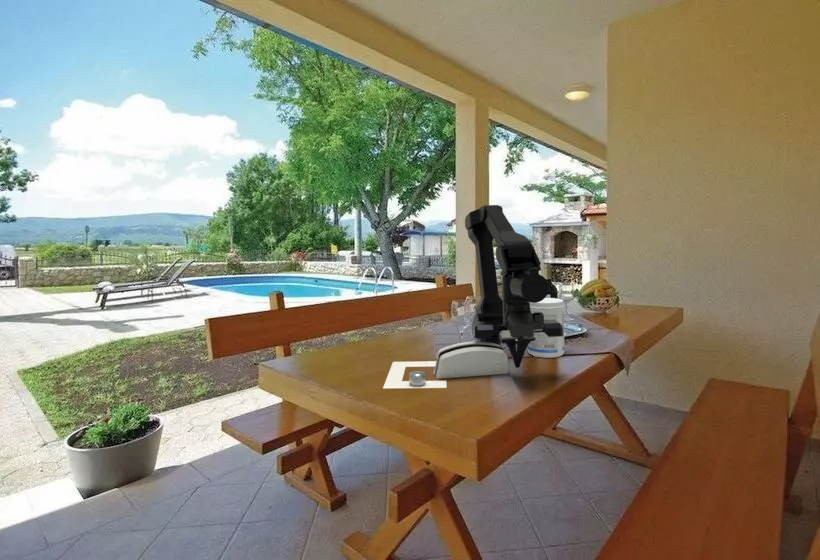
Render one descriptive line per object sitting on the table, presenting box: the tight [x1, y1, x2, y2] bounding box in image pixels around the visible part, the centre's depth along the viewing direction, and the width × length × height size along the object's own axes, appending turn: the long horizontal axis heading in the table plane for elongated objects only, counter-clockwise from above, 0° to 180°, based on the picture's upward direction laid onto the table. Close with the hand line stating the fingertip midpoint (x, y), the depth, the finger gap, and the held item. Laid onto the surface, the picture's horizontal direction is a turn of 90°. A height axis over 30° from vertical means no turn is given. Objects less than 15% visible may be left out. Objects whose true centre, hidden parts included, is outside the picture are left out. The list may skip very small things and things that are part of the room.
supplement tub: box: [527, 297, 565, 359], centre depth 116 cm, size 10×10×15 cm
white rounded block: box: [433, 340, 509, 380], centre depth 96 cm, size 17×5×10 cm, turn 98°
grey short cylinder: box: [408, 370, 427, 387], centre depth 90 cm, size 3×3×2 cm
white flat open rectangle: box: [382, 360, 447, 390], centre depth 98 cm, size 20×13×2 cm, turn 176°
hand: (517, 367), depth 96 cm, fingers closed
